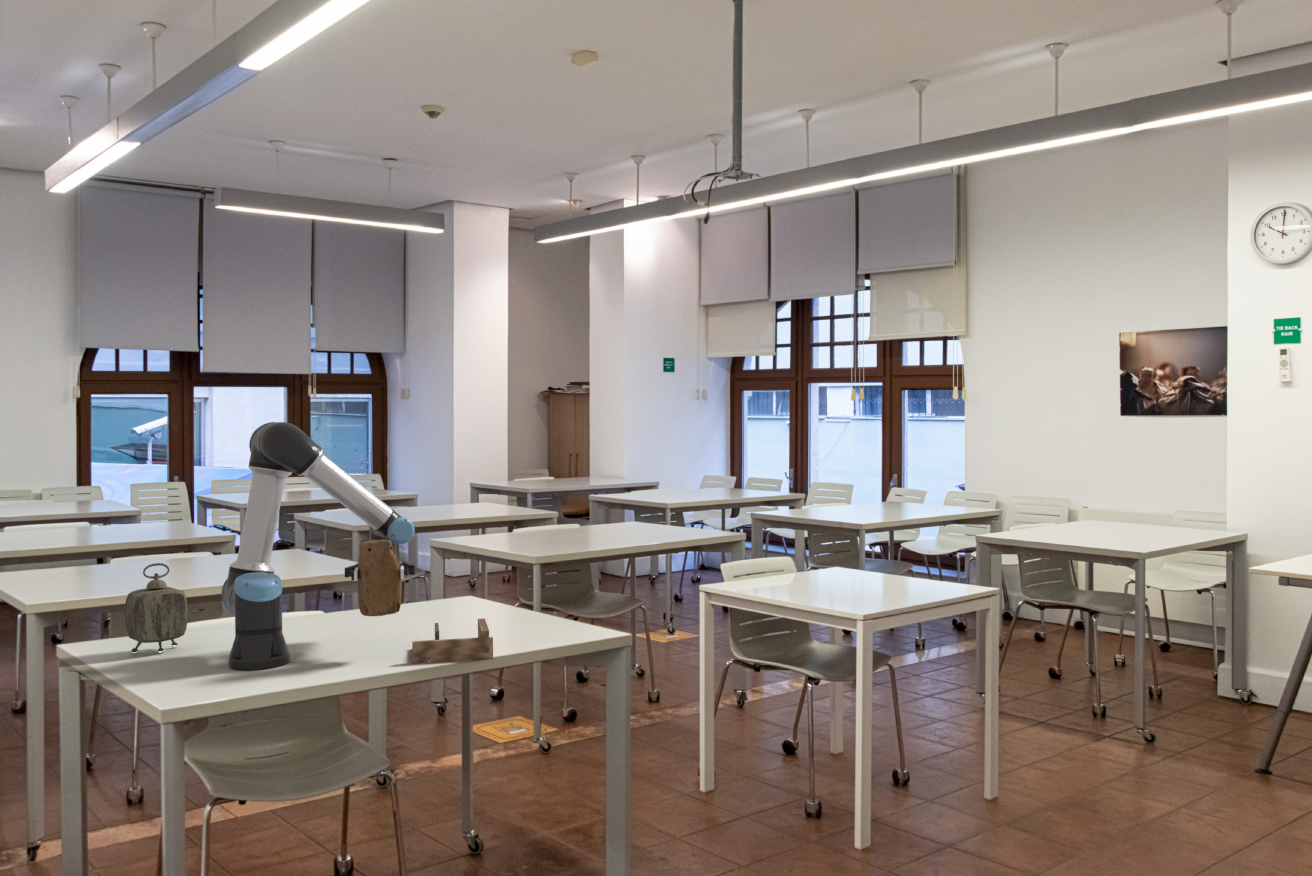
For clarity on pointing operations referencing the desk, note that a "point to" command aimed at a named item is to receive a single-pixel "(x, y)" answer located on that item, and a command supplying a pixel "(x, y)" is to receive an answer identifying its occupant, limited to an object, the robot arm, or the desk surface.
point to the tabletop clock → (156, 612)
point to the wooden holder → (454, 647)
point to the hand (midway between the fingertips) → (379, 575)
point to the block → (378, 579)
